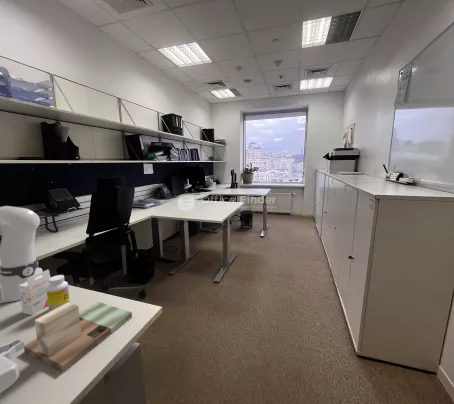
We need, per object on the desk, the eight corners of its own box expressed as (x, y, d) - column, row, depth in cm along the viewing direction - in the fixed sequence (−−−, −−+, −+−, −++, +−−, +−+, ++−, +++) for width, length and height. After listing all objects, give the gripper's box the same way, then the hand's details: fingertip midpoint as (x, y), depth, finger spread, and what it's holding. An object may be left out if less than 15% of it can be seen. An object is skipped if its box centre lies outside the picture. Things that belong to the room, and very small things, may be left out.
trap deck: (24, 351, 64) (23, 346, 64) (97, 306, 87) (97, 301, 86) (63, 372, 58) (62, 365, 58) (132, 317, 80) (131, 312, 80)
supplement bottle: (67, 311, 83) (63, 280, 82) (46, 315, 81) (42, 283, 79) (72, 301, 90) (69, 272, 88) (52, 305, 87) (49, 275, 85)
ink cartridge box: (44, 300, 90) (40, 267, 88) (54, 302, 89) (50, 268, 87) (21, 313, 82) (16, 277, 80) (32, 315, 81) (27, 279, 79)
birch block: (38, 351, 62) (34, 319, 61) (70, 330, 71) (67, 302, 69) (49, 356, 60) (45, 324, 59) (81, 334, 69) (78, 305, 67)
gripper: (-82, 387, 48) (1, 342, 60) (-39, 427, 40) (46, 366, 53) (-88, 362, 47) (-2, 321, 59) (-45, 398, 39) (43, 343, 52)
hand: (21, 342), depth 56 cm, fingers closed
